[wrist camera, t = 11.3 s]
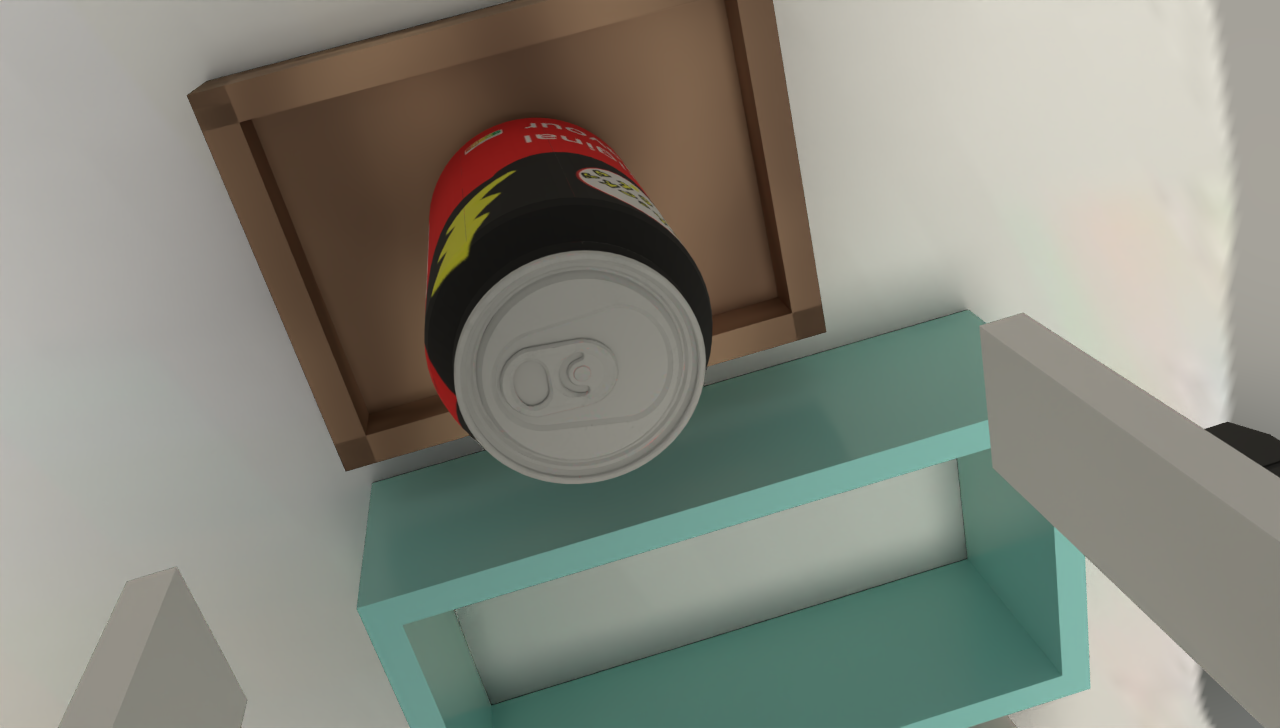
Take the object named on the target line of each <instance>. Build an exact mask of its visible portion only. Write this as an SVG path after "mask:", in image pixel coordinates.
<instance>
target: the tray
mask: <svg viewBox="0 0 1280 728" xmlns="http://www.w3.org/2000/svg"><path fill="white" fill-rule="evenodd" d="M187 97H188V99H189V102H190V104H191V107H192V109H193V111H194V114H195V116H196V118H197V121H198V123H199V125H200V128H201V130H202V133H203V135H204V137H205V140H206V142H207V144H208V147H209V149H210V152H211V154H212V156H213V159H214V161H215V163H216V166H217V168H218V170H219V173H220V175H221V178H222V180H223V182H224V185H225V187H226V189H227V192H228V194H229V197H230V199H231V201H232V204H233V206H234V208H235V211H236V213H237V215H238V218H239V220H240V223H241V225H242V227H243V230H244V232H245V234H246V237H247V239H248V241H249V244H250V246H251V249H252V251H253V253H254V256H255V258H256V260H257V263H258V265H259V268H260V270H261V272H262V275H263V277H264V279H265V282H266V284H267V286H268V289H269V291H270V294H271V296H272V298H273V301H274V303H275V305H276V308H277V310H278V313H279V315H280V317H281V320H282V322H283V324H284V327H285V329H286V331H287V334H288V336H289V339H290V341H291V343H292V346H293V348H294V350H295V353H296V355H297V357H298V360H299V362H300V365H301V367H302V369H303V372H304V374H305V376H306V379H307V381H308V384H309V386H310V388H311V391H312V393H313V395H314V398H315V400H316V402H317V405H318V407H319V410H320V412H321V414H322V417H323V419H324V421H325V424H326V426H327V429H328V431H329V433H330V436H331V438H332V440H333V443H334V445H335V447H336V450H337V452H338V455H339V457H340V459H341V462H342V464H343V466H344V469H345V471H349V470H353V469H356V468H359V467H363V466H366V465H370V464H373V463H377V462H380V461H384V460H387V459H390V458H394V457H397V456H401V455H404V454H408V453H411V452H415V451H418V450H421V449H425V448H428V447H432V446H435V445H439V444H442V443H446V442H449V441H453V440H456V439H459V438H463V437H466V436H470V435H469V434H468V433H467V432H466V431H465V430H464V429H463V428H462V427H461V426H460V425H459V424H458V423H457V421H456V420H455V419H454V418H453V416H452V415H451V414H450V412H449V411H448V409H447V408H446V407H445V405H444V404H443V402H442V400H441V399H440V397H439V395H438V393H437V391H436V389H435V387H434V384H433V382H432V379H431V376H430V373H429V370H428V366H427V361H426V356H425V345H424V328H425V304H426V281H427V257H428V233H429V213H430V205H431V200H432V196H433V192H434V189H435V186H436V184H437V181H438V179H439V177H440V175H441V173H442V171H443V170H444V168H445V166H446V165H447V164H448V162H449V161H450V159H451V158H452V157H453V156H454V155H455V153H456V152H457V151H458V150H459V149H460V148H461V147H462V146H463V145H465V144H466V143H467V142H468V141H469V140H471V139H472V138H474V137H475V136H476V135H478V134H480V133H481V132H483V131H485V130H487V129H489V128H491V127H493V126H495V125H498V124H501V123H504V122H508V121H512V120H516V119H523V118H550V119H556V120H561V121H564V122H568V123H571V124H574V125H577V126H579V127H581V128H583V129H585V130H587V131H589V132H591V133H592V134H594V135H596V136H597V137H599V138H600V139H601V140H603V141H604V142H605V143H606V144H607V145H608V146H609V147H611V148H612V149H613V150H614V151H615V153H616V154H617V155H618V156H619V157H620V159H621V160H622V161H623V163H624V164H625V165H626V167H627V168H628V169H629V171H630V172H631V174H632V175H633V176H634V178H635V179H636V181H637V182H638V183H639V185H640V186H641V187H642V189H643V190H644V192H645V193H646V194H647V196H648V197H649V199H650V200H651V201H652V203H653V204H654V205H655V207H656V208H657V210H658V211H659V212H660V214H661V215H662V217H663V218H664V219H665V221H666V222H667V223H668V225H669V226H670V228H671V229H672V230H673V232H674V233H675V234H676V236H677V237H678V239H679V240H680V241H681V243H682V244H683V246H684V247H685V248H686V250H687V251H688V253H689V254H690V256H691V257H692V258H693V260H694V261H695V263H696V265H697V267H698V269H699V271H700V272H701V275H702V277H703V280H704V282H705V284H706V288H707V291H708V294H709V298H710V304H711V309H712V322H713V328H712V345H711V353H710V357H709V362H708V366H711V365H715V364H718V363H721V362H725V361H728V360H732V359H735V358H739V357H742V356H746V355H749V354H753V353H756V352H759V351H763V350H766V349H770V348H773V347H777V346H780V345H784V344H787V343H790V342H794V341H797V340H801V339H804V338H808V337H811V336H815V335H818V334H821V333H825V332H826V327H825V321H824V315H823V309H822V302H821V296H820V290H819V284H818V278H817V272H816V265H815V259H814V253H813V247H812V241H811V234H810V228H809V222H808V216H807V210H806V203H805V197H804V191H803V185H802V179H801V172H800V166H799V160H798V154H797V148H796V141H795V135H794V129H793V123H792V117H791V110H790V104H789V98H788V92H787V86H786V79H785V73H784V67H783V61H782V55H781V48H780V42H779V36H778V30H777V24H776V17H775V11H774V5H773V0H514V1H510V2H506V3H502V4H499V5H495V6H491V7H487V8H483V9H480V10H476V11H472V12H468V13H464V14H461V15H457V16H453V17H449V18H445V19H441V20H438V21H434V22H430V23H426V24H422V25H419V26H415V27H411V28H407V29H403V30H400V31H396V32H392V33H388V34H384V35H380V36H377V37H373V38H369V39H365V40H361V41H358V42H354V43H350V44H346V45H342V46H339V47H335V48H331V49H327V50H323V51H320V52H316V53H312V54H308V55H304V56H300V57H297V58H293V59H289V60H285V61H281V62H278V63H274V64H270V65H266V66H262V67H259V68H255V69H251V70H247V71H243V72H240V73H236V74H232V75H228V76H224V77H220V78H217V79H213V80H209V81H206V82H205V83H203V84H202V85H201V86H199V87H198V88H196V89H195V90H194V91H192V92H191V93H189V94H188V95H187ZM708 366H707V367H708Z"/></svg>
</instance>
